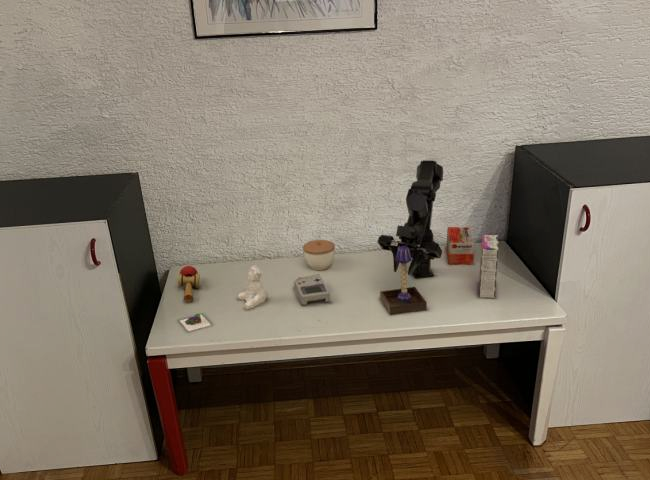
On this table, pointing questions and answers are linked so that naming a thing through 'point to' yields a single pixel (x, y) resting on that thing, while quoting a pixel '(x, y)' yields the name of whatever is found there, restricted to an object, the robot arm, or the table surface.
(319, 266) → the trinket box
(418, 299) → the tray
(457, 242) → the medicine box
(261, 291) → the white creature statuette
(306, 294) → the handheld gaming device
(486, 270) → the candy bar box
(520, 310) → the table surface
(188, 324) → the puzzle cube
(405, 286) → the toy lamp
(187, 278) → the kendama
